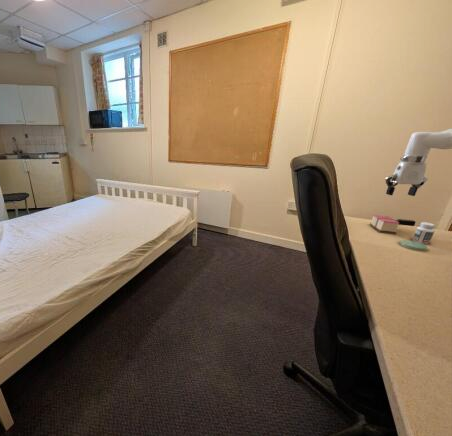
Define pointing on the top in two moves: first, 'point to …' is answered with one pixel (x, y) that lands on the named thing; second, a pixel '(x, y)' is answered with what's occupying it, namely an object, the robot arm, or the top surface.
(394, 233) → the cake board
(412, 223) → the knife
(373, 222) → the cake slice
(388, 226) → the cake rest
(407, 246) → the plate
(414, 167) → the robot arm
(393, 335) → the top surface
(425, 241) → the pill bottle
